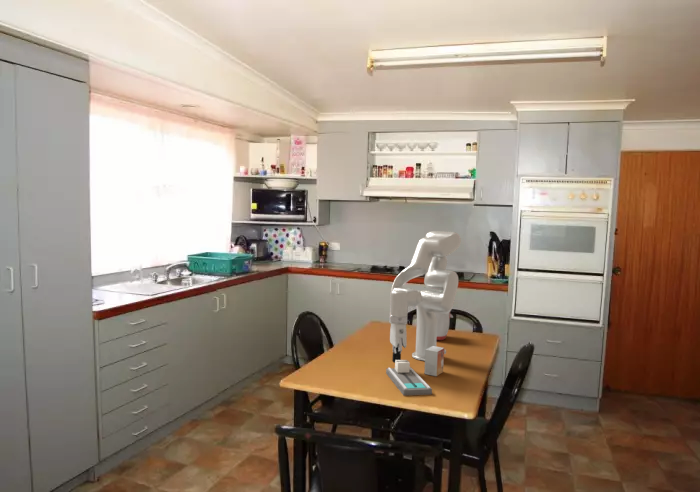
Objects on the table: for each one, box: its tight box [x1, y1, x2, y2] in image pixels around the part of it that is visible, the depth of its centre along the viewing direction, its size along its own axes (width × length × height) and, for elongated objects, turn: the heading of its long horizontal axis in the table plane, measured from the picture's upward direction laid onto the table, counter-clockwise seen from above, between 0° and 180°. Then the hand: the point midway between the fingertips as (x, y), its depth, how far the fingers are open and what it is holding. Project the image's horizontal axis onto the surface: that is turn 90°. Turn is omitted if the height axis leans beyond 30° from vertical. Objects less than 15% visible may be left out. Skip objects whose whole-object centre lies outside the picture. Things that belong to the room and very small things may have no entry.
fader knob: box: [394, 359, 411, 373], centre depth 201 cm, size 5×4×4 cm
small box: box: [424, 345, 445, 377], centre depth 206 cm, size 8×6×10 cm
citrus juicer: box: [434, 311, 454, 341], centre depth 265 cm, size 16×17×20 cm
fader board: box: [385, 366, 433, 396], centre depth 193 cm, size 11×25×2 cm, turn 11°
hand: (396, 361), depth 208 cm, fingers closed
